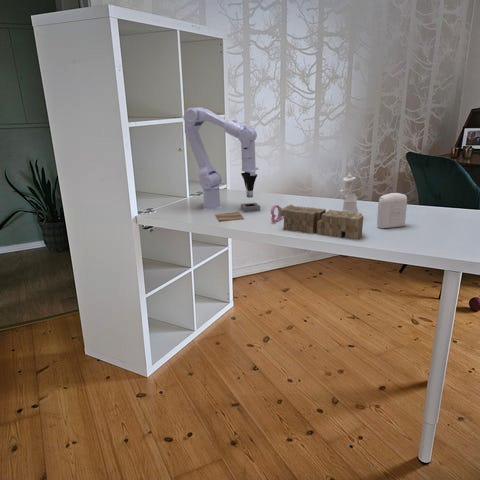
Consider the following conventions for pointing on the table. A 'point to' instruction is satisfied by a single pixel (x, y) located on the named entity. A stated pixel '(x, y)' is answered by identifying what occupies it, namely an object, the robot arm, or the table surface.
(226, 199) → the table surface
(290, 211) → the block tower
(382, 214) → the off-white upright rounded block
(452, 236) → the table surface
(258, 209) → the chuck block
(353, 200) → the figurine
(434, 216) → the table surface
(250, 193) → the silver metal cylinder
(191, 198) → the table surface
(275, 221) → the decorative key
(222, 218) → the pad
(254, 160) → the robot arm
